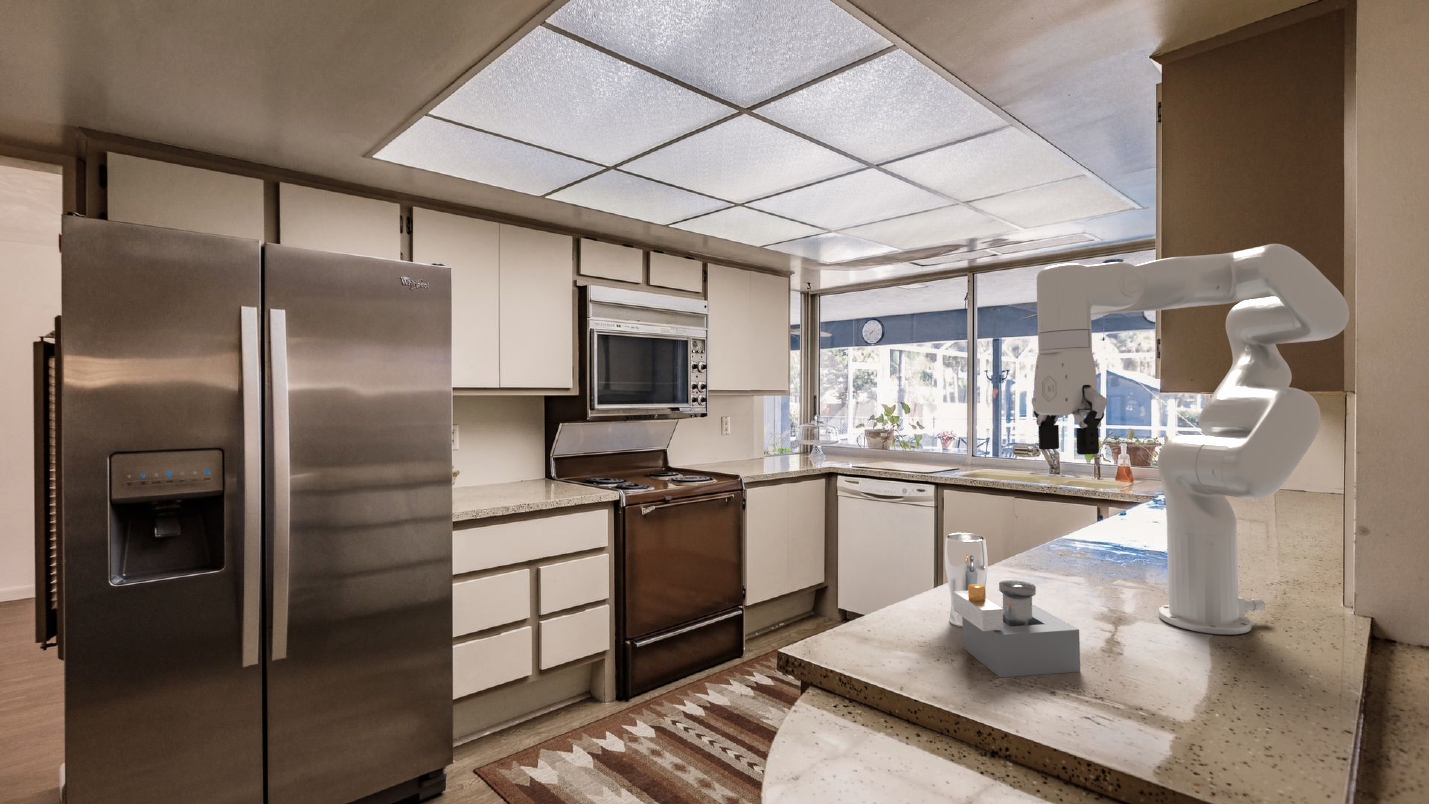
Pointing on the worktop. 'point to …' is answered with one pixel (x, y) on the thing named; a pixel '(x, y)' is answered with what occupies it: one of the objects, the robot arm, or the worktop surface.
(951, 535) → the beer glass
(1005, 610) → the grey capped cylinder
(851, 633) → the worktop surface
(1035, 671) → the block
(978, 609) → the bar
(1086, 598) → the worktop surface
